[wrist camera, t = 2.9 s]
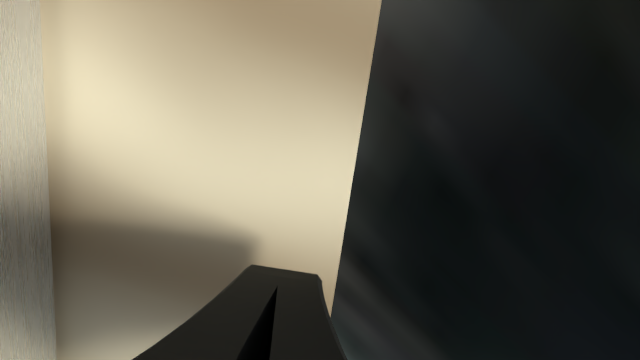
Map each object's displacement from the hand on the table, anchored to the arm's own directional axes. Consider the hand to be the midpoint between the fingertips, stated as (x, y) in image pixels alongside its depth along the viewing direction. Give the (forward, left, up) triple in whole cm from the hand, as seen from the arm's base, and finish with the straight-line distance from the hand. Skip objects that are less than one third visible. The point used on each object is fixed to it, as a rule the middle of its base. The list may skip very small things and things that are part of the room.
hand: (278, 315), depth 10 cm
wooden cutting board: (0, +9, -3) cm, 10 cm away
